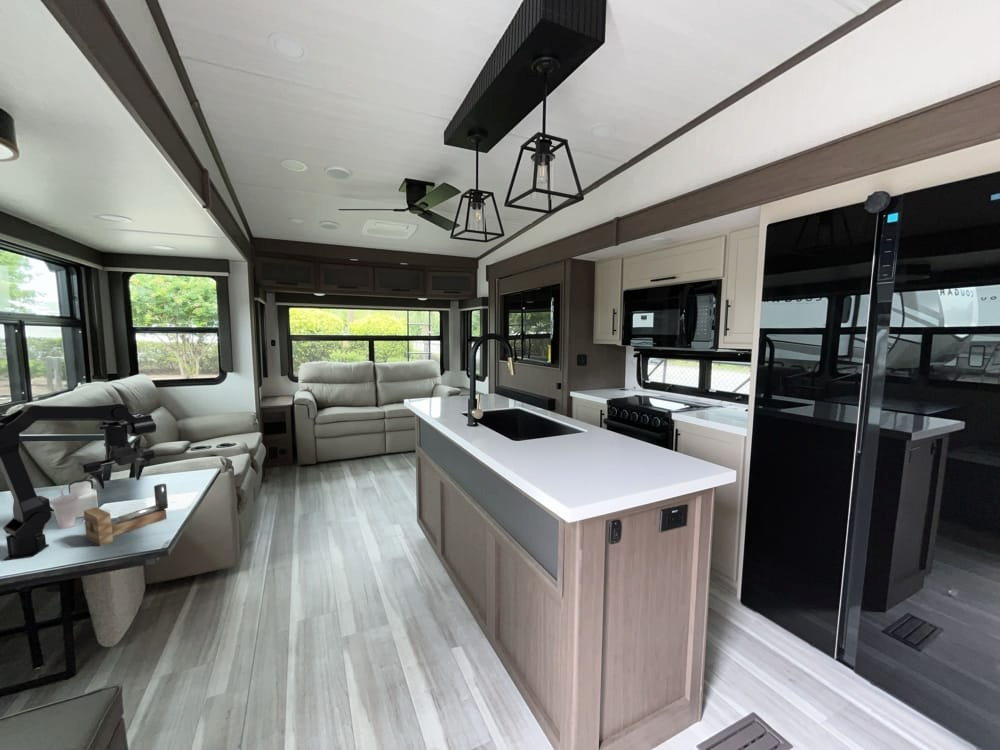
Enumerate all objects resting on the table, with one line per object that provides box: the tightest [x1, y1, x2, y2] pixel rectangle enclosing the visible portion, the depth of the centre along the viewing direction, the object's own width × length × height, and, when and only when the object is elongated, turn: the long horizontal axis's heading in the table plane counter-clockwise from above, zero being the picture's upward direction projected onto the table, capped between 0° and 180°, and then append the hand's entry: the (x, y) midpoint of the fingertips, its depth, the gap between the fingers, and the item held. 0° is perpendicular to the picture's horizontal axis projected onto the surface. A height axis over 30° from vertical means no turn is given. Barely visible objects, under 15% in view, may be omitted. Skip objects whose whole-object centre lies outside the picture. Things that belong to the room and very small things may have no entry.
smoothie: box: [49, 485, 78, 530], centre depth 134 cm, size 6×6×14 cm
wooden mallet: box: [84, 507, 167, 547], centre depth 132 cm, size 18×10×9 cm, turn 152°
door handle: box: [117, 483, 169, 523], centre depth 135 cm, size 13×3×8 cm, turn 152°
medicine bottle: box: [68, 479, 99, 519], centre depth 143 cm, size 7×7×12 cm
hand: (120, 484), depth 137 cm, fingers open, 9 cm apart
